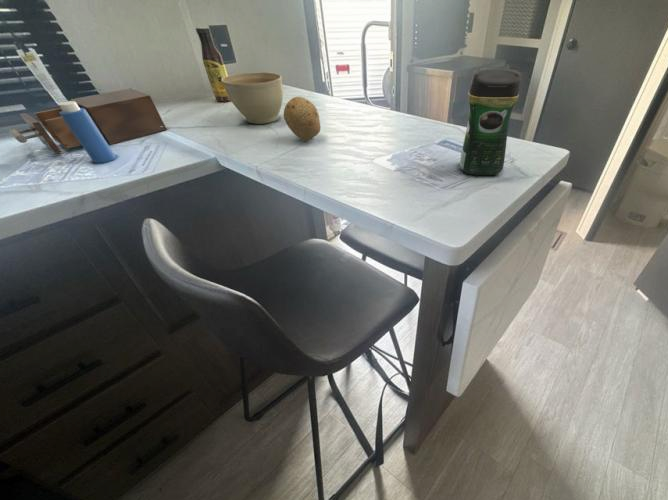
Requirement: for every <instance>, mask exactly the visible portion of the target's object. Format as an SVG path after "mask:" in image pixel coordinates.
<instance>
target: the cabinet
mask: <svg viewBox="0 0 668 500" xmlns="http://www.w3.org/2000/svg"><path fill="white" fill-rule="evenodd" d="M70 101H75V102H76V103H77V105H78V106H80V107H82V108H84V109H86V110H88V111H89V113H90V114H91V116H92V117H93V119H94V120H95V122H96V123H97V125H98V127H99V128H100V130H101V131H102V133H103V134H104V136H105V138H106V139H105V141H106V142H107V144H108V145H114V144H117V143H123V142H125V141H129V140H134V139H137V138H141V137H144V136H149V135H152V134H156V133H160V132H164V131H167V127H166V124H165V123H164V121H163V119H162V117H161V115H160V113H159V111H158V109H157V107H156V105H155V103H154V101H153V99H152V97H151V94H148V93H144V92H142V91H139V90H136V89H133V88H126V89H119V90H114V91H109V92H104V93H98V94H94V95H93V94H92V95H87V96H82V97H75V98H70ZM160 126H163V127H160Z"/></svg>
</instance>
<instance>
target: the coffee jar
mask: <svg viewBox="0 0 668 500" xmlns="http://www.w3.org/2000/svg"><path fill="white" fill-rule="evenodd" d="M520 86H521V74H520V73H519V71H518V70H517V69H508V68H506V69H505V68H485V69H483V68H482V69H475V70H474V72H473V73H472V77H471V81H470V85H469V89H468V93H467V100H468V105H469V107H468V108H469V109H468V118H467V125H466V130H465V135H464V140H463V143H462V149H461V154H460V159H459V168H460V170H461V171H462V172H464V173H466V174H467V175H480V176H481V175H482V176H483V175H489V176H490V175H498V174H499V173H501V172H502V171H503V169H504V164H505V160H506V159H505V158H506V152H507V151H506V149H507V141H508V133H509V126H510V121H511V116H512V111H513V109H514V106H515V105H516V103H517V101H518V99H519V96H520V89H521V88H520Z"/></svg>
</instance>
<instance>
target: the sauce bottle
mask: <svg viewBox="0 0 668 500" xmlns="http://www.w3.org/2000/svg"><path fill="white" fill-rule="evenodd" d="M195 31H196V34H197V35H198V38H199V41H200V45H201V46H200V47H201V55H202V63H203V66H204V69H205V73H206V75H207V78H208V81H209V84H210V87H211V89H212V92H213V95H214V97H215V100H216V101H218V102H221V103H223V102H225V103H226V102H227V103H228V102H232V101H231V100H230V98H229V96H228V94H227V92H226V89H225V87H224V85H223V83H222V81H221V80H222V78H224V77H227V76H229V75H228V71H227V68H226V65H225V63H224V59H223V56H222V54H221V52H220V50H218V48H217V47H216V45H215V42H214V39H213V37H212V31H211V28H210V27H209V26H196V27H195Z"/></svg>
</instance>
